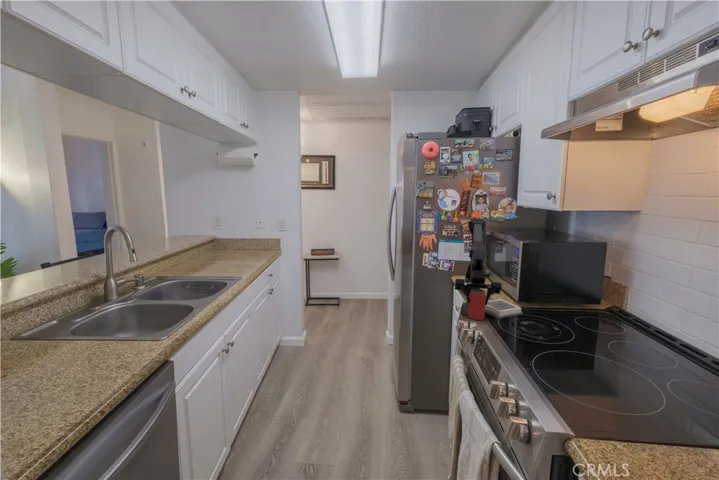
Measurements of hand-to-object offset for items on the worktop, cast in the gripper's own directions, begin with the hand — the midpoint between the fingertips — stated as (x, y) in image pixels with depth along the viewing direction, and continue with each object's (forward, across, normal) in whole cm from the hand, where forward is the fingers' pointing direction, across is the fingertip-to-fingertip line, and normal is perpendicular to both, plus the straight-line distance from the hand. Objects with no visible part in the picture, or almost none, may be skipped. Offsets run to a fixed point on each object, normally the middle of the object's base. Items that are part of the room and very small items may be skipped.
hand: (477, 304), depth 133 cm
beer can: (+4, 0, +6) cm, 7 cm away
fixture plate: (-6, +8, +16) cm, 19 cm away
